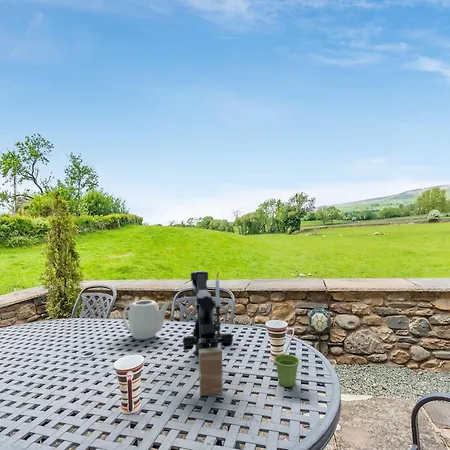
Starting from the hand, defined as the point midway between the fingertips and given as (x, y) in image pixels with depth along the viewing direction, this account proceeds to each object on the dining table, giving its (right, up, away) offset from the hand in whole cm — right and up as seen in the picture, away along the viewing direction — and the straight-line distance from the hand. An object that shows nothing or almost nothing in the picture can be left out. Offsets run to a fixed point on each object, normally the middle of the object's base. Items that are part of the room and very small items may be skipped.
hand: (209, 364), depth 112 cm
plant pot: (+29, -9, +3) cm, 30 cm away
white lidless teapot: (-37, -10, +56) cm, 68 cm away
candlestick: (+2, -9, +51) cm, 52 cm away
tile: (+1, -9, -2) cm, 9 cm away
